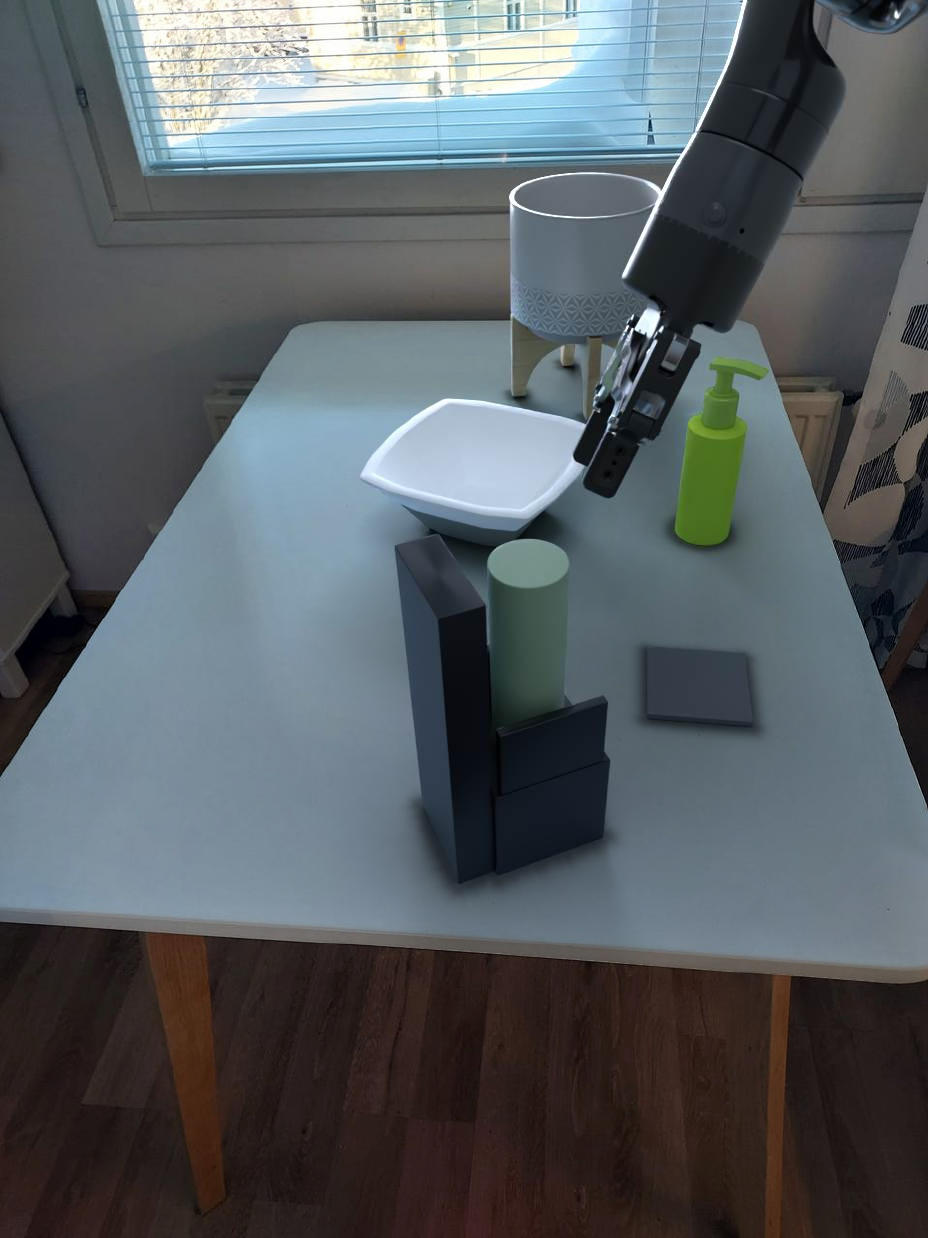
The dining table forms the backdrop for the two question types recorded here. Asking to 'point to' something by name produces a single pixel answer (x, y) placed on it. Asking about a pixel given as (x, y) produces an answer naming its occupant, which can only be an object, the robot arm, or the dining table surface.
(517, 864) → the navy chair block
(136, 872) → the dining table surface
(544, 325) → the planter
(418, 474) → the bowl
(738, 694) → the coaster
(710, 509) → the soap dispenser
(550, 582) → the green cylinder
